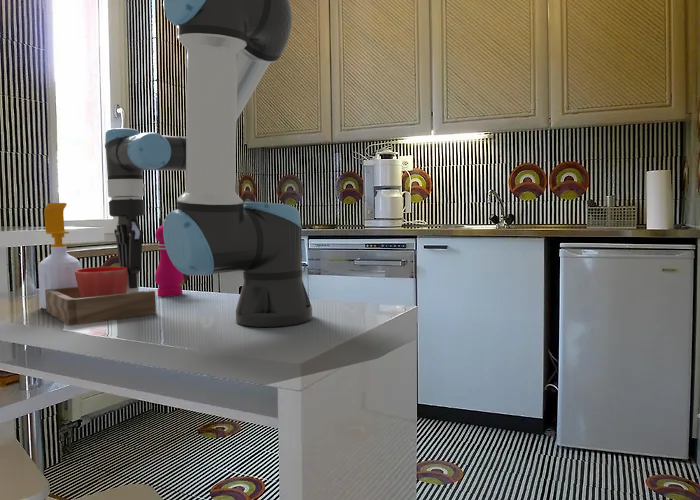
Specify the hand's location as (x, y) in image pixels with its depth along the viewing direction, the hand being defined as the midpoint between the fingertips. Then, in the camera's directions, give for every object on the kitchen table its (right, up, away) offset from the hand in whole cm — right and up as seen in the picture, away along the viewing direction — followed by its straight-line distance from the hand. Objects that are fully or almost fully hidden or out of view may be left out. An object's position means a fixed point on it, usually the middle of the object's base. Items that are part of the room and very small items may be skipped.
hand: (132, 302), depth 135 cm
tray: (-5, -2, -4) cm, 7 cm away
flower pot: (-5, -2, -4) cm, 7 cm away
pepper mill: (+2, 0, +21) cm, 21 cm away
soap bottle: (-19, -2, +6) cm, 20 cm away
